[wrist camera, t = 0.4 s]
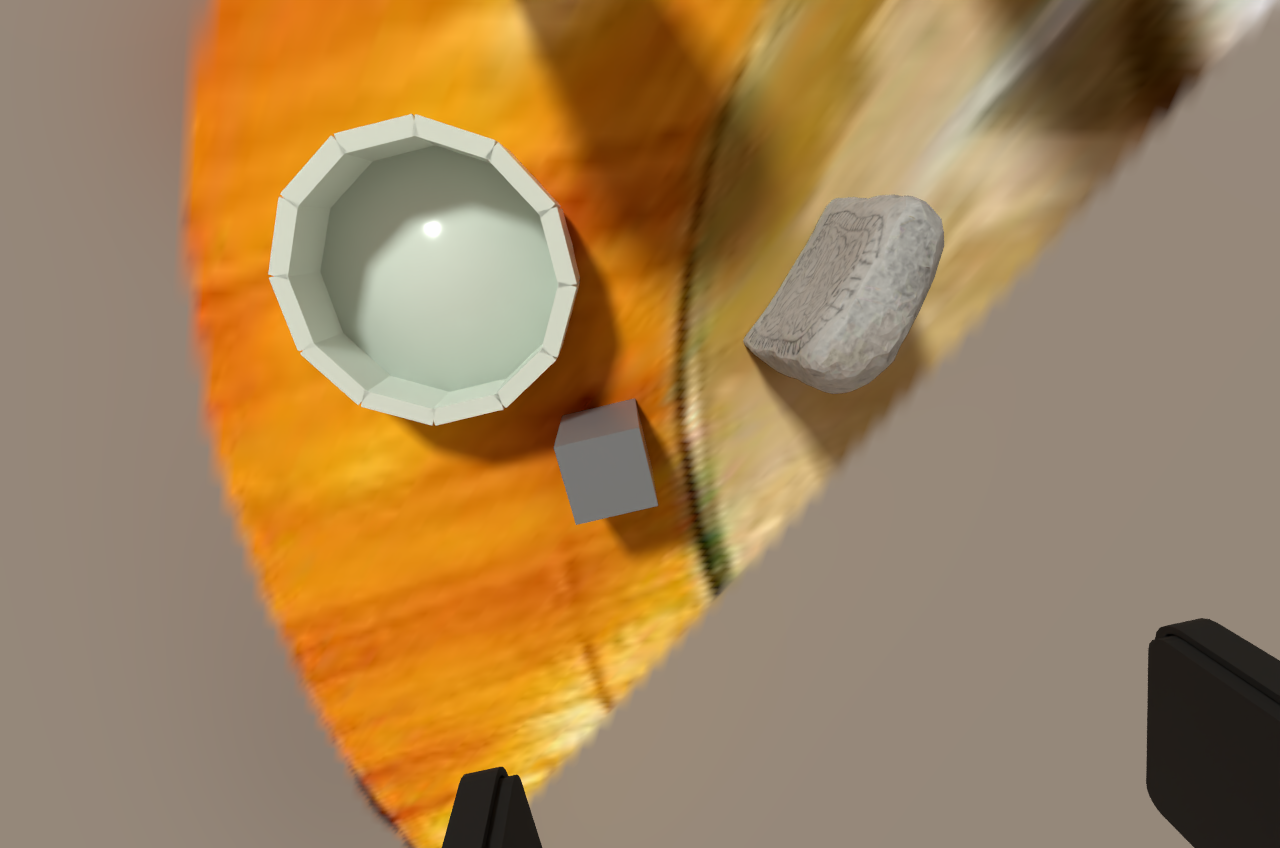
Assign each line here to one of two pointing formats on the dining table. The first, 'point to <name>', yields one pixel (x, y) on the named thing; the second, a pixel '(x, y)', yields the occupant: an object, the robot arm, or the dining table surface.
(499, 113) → the dining table surface
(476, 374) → the bowl
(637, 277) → the dining table surface
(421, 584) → the dining table surface
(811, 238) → the decorative stone
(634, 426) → the matte grey cube
